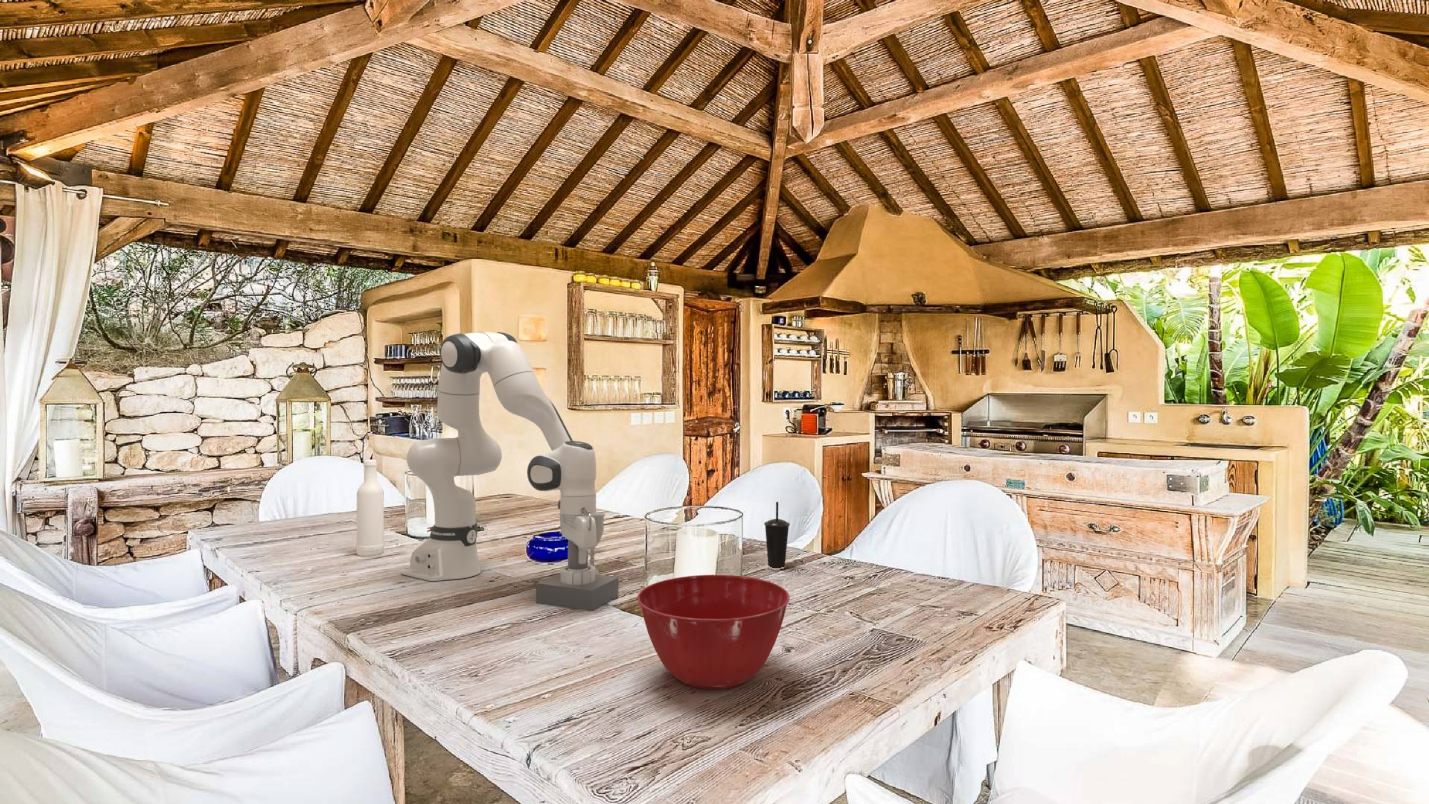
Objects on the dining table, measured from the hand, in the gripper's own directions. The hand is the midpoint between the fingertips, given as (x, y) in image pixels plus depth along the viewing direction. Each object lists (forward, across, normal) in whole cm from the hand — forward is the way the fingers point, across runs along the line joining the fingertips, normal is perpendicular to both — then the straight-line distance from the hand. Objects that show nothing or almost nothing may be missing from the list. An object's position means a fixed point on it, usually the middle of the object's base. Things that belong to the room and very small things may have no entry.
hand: (578, 560), depth 182 cm
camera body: (+10, 0, 0) cm, 10 cm away
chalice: (+10, +19, -10) cm, 24 cm away
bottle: (+10, +77, +46) cm, 90 cm away
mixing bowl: (+10, -57, -10) cm, 59 cm away
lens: (+3, 0, 0) cm, 3 cm away
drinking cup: (+10, +6, -63) cm, 64 cm away
